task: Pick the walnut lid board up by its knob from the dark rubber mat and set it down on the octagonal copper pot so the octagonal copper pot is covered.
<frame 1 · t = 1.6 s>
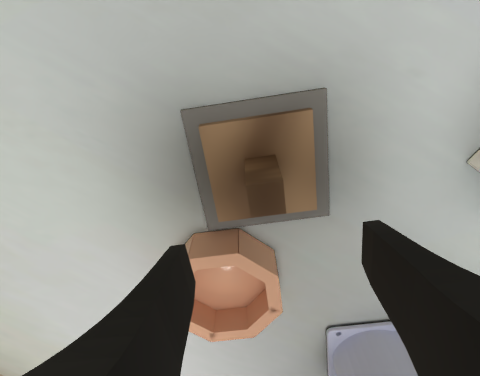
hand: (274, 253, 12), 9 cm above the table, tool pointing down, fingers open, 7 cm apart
octagonal copper pot: (225, 273, 25), on the table
mat: (260, 165, 21), on the table
lid: (261, 167, 21), resting on mat
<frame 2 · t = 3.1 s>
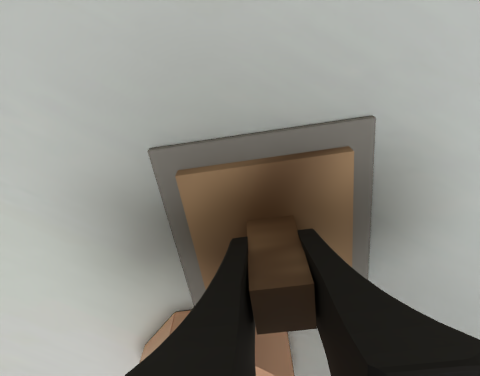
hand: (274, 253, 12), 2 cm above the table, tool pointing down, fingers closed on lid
octagonal copper pot: (219, 358, 18), on the table
mat: (270, 225, 14), on the table
lid: (270, 229, 14), resting on mat, touching gripper
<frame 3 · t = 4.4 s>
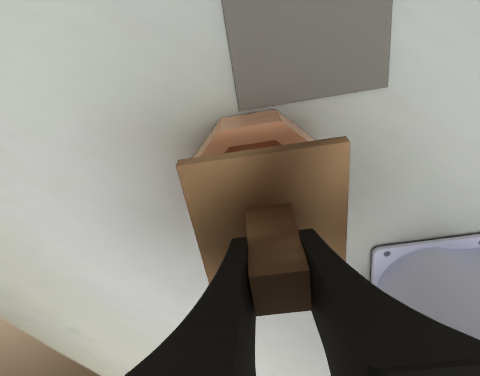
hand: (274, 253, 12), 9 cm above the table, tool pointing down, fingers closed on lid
octagonal copper pot: (256, 173, 21), on the table
mat: (306, 15, 17), on the table
lid: (268, 216, 14), point 7 cm above the table, touching gripper
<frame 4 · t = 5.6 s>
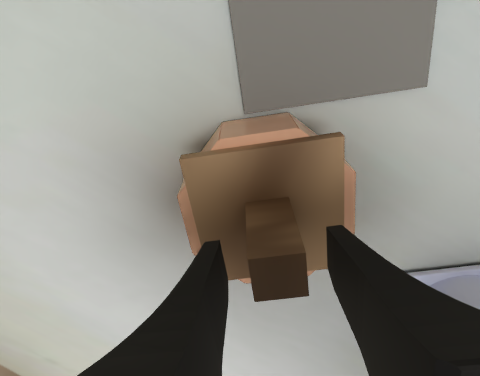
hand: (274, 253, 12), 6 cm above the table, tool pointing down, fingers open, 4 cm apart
octagonal copper pot: (264, 188, 18), on the table
lid: (268, 211, 15), point 3 cm above the table, touching octagonal copper pot
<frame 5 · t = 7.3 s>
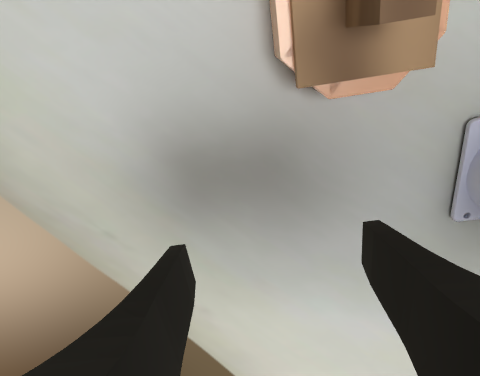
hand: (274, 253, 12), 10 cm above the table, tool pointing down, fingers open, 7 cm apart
octagonal copper pot: (343, 11, 18), on the table
lid: (362, 1, 15), point 3 cm above the table, touching octagonal copper pot
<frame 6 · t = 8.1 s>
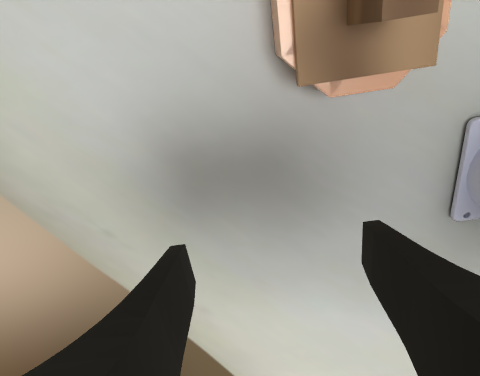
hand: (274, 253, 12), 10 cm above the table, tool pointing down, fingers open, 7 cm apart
octagonal copper pot: (345, 9, 18), on the table
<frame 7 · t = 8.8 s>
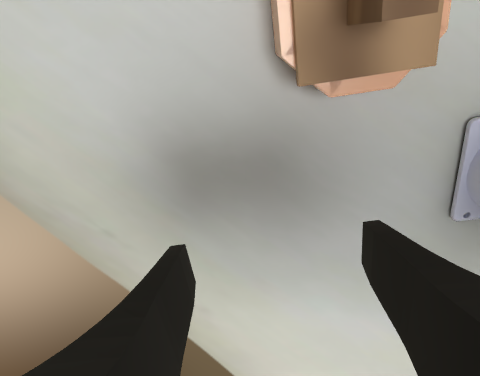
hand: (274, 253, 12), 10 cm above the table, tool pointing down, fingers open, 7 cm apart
octagonal copper pot: (345, 9, 18), on the table
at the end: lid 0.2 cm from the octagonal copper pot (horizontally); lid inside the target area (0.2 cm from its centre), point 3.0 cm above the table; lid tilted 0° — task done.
